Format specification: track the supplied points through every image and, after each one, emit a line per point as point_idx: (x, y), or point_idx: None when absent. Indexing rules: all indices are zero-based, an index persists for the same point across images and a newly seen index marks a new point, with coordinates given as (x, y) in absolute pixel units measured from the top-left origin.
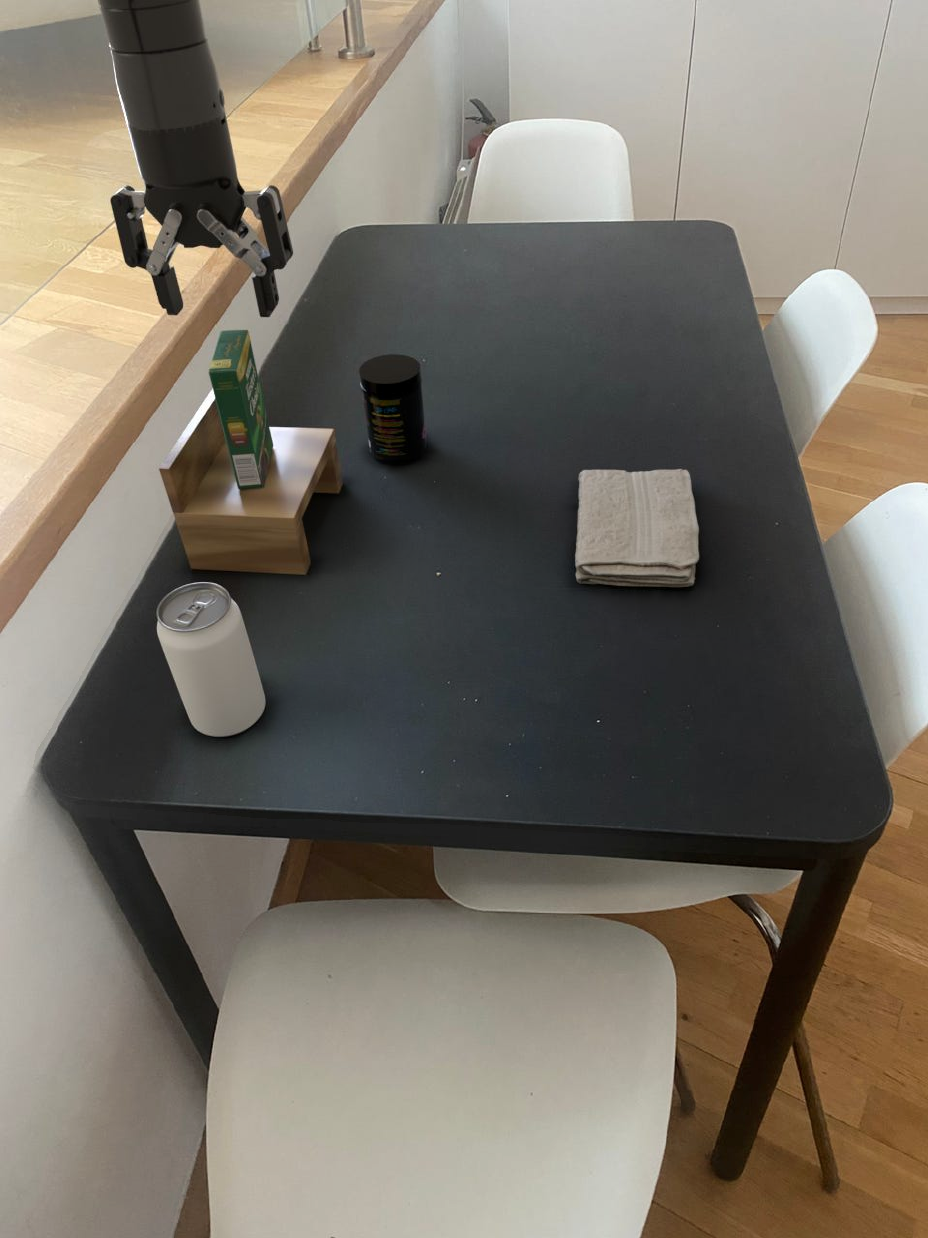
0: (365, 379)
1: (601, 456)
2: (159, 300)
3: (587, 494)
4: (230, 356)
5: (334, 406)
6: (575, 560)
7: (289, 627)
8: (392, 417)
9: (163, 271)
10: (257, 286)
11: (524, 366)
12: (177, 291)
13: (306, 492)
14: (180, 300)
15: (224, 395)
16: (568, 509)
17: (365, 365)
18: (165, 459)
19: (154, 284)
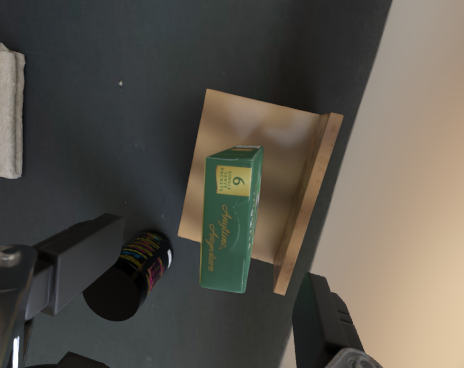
0: (132, 279)
1: (11, 208)
2: (344, 308)
3: (2, 139)
4: (219, 202)
5: (205, 325)
6: (13, 61)
7: (231, 29)
8: (130, 248)
9: (327, 361)
10: (68, 240)
11: (63, 338)
12: (298, 331)
13: (198, 133)
14: (295, 316)
15: (241, 153)
16: (32, 148)
17: (134, 306)
18: (336, 135)
19: (358, 340)
